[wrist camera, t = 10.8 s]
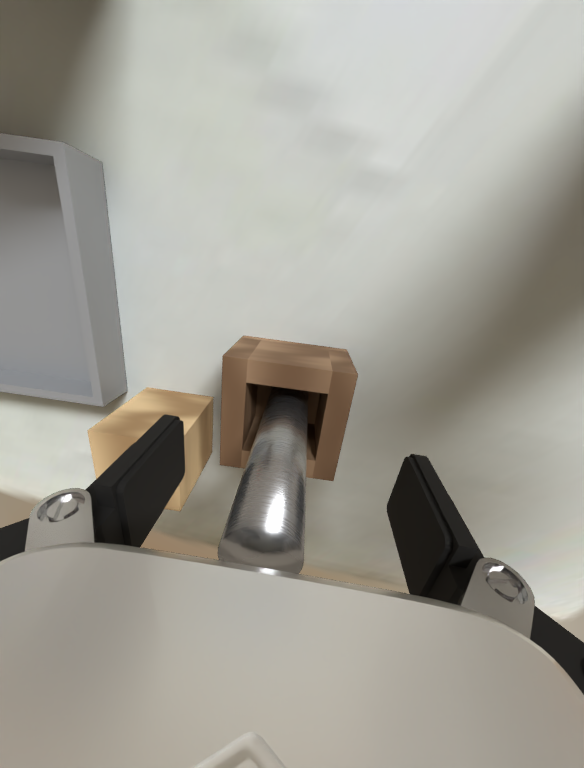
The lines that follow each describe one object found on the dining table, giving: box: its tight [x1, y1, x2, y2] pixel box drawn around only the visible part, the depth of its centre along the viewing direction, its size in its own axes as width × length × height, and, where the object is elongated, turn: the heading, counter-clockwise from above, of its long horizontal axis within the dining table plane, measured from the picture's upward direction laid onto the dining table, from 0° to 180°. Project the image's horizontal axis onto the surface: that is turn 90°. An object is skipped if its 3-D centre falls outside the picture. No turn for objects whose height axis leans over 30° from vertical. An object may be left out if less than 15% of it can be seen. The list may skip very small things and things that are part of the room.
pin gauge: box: [218, 386, 308, 574], centre depth 14 cm, size 3×3×12 cm
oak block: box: [88, 387, 213, 511], centre depth 19 cm, size 5×5×6 cm
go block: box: [220, 336, 358, 481], centre depth 18 cm, size 7×7×5 cm
